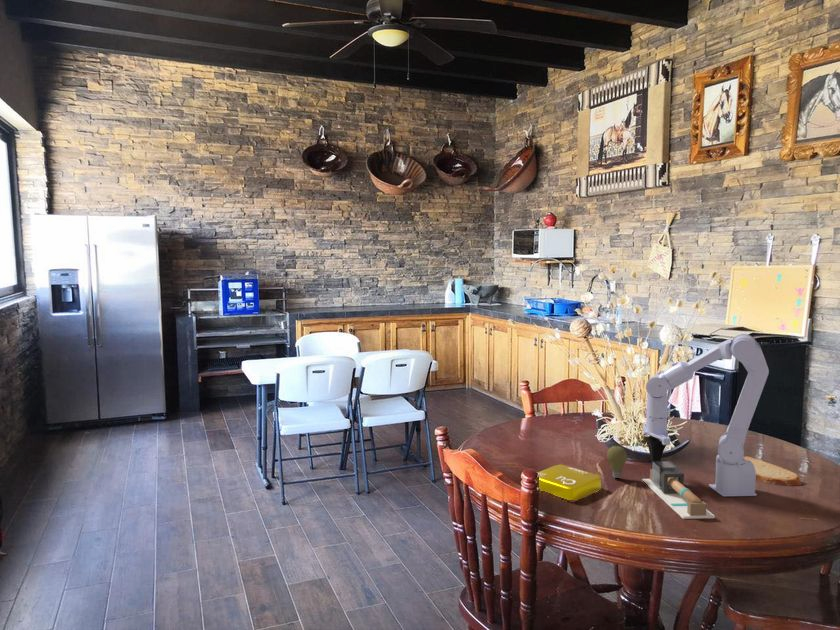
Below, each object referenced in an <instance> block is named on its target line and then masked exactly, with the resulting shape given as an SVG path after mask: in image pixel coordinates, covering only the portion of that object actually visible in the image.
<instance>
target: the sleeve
mask: <svg viewBox="0 0 840 630" xmlns="http://www.w3.org/2000/svg"><path fill="white" fill-rule="evenodd" d="M651 466H652V482H653V483H654V484H655V485H656V486H657V487H658V488H662V472H679V467H678V465H676V464H675V463H673V462H672V461H669V460H667V461H663V460H661V461H660V462H652V465H651ZM673 478H675V479H676V480H677V481H678V477H673ZM668 488H672V487H671V486H670V485H668Z"/></svg>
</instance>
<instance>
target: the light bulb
mask: <svg viewBox="0 0 840 630" xmlns="http://www.w3.org/2000/svg"><path fill="white" fill-rule="evenodd" d="M606 457H607V460H608V463H609V464H610V468H611V470H612V477H613V478H614V479H615V478H619V479H620V478H622V471H623V468H624V465H625V464H626V461H627V459H628V456H627V451H626V450H625V449H624V448H623V447H622V446H619V445H613V446H611V447H609V448H608V450H607V453H606Z"/></svg>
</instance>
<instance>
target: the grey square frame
mask: <svg viewBox="0 0 840 630" xmlns="http://www.w3.org/2000/svg"><path fill="white" fill-rule="evenodd" d="M671 477H678V482H680V483H681V484H682V485H683V486H684V483H685V481H684V480H685V479H684V478H685V473H684V472H682V471H678V472H662V492H663V493H678V492H677V491H675V490H674V489H673V488H668V478H671Z"/></svg>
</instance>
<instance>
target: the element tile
mask: <svg viewBox="0 0 840 630" xmlns="http://www.w3.org/2000/svg"><path fill="white" fill-rule="evenodd" d="M536 473H538V475H539V489H540V491H545V492H548V493H551V494H553V495H555V496H558V497H561V498H564V499H567V500H578V499H580V498H582V497H584V496H587V495H589V494H591V493H594V492H596V491H598V490H600V489H601V490H602V487H601V486H602V477H601V475H599V474H597V473H596V474H595V473H592V472H589V471H586V470H583V469H579V468H575V467H572V466H569V465H565V464H560V463H559V464H557V465H556V464H555V465H553V466H551V467H548V468H546V469H544V470H543V469H542V470H541V471H538V472H536ZM601 490H600V491H601Z"/></svg>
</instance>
